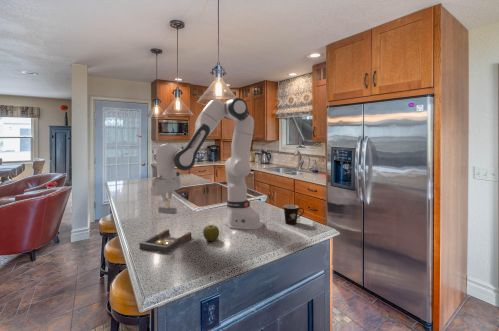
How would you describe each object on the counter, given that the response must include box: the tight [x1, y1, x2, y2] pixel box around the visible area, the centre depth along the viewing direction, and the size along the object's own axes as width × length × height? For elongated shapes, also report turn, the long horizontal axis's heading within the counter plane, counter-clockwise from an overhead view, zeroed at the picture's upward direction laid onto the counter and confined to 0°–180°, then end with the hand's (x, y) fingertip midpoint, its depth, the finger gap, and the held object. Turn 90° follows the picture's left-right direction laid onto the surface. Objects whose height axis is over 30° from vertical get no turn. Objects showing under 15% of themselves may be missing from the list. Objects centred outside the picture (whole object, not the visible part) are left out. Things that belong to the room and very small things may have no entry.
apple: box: [202, 224, 220, 242], centre depth 129 cm, size 8×8×7 cm
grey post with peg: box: [158, 195, 178, 215], centre depth 139 cm, size 10×2×9 cm, turn 71°
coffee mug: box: [283, 204, 305, 226], centre depth 154 cm, size 12×9×10 cm
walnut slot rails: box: [155, 228, 192, 245], centre depth 132 cm, size 15×9×2 cm, turn 70°
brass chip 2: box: [163, 240, 174, 246], centre depth 124 cm, size 4×4×2 cm
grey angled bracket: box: [139, 234, 181, 254], centre depth 123 cm, size 15×10×2 cm, turn 70°
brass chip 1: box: [154, 238, 166, 245], centre depth 125 cm, size 4×4×2 cm
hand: (167, 200), depth 139 cm, fingers closed on grey post with peg, 2 cm apart
